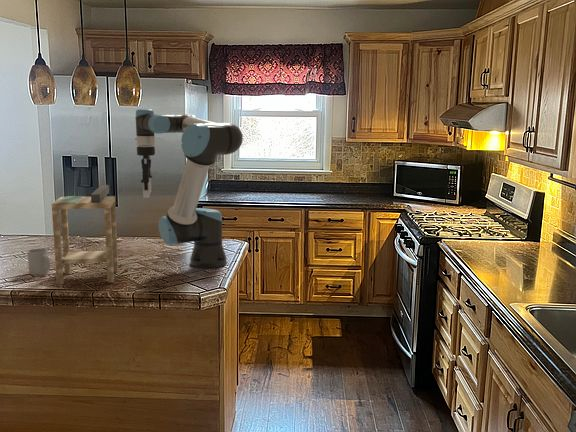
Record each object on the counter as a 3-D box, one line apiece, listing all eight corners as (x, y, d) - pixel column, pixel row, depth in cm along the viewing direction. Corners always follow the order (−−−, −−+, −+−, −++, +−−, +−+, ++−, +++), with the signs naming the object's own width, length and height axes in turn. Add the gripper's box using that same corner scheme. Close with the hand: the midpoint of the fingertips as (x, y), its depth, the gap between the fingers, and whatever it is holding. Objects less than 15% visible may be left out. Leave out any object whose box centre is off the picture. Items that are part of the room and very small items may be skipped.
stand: (118, 270, 231) (114, 195, 225) (113, 282, 215) (109, 202, 210) (65, 272, 227) (60, 196, 222) (56, 284, 212) (51, 202, 206)
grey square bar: (109, 192, 235) (108, 184, 235) (100, 202, 210) (99, 194, 209) (101, 192, 235) (101, 185, 234) (91, 202, 210) (90, 194, 209)
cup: (40, 269, 231) (39, 247, 230) (57, 272, 227) (56, 250, 225) (24, 273, 225) (23, 251, 223) (42, 277, 220) (40, 254, 219)
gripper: (138, 143, 258) (140, 191, 262) (134, 148, 233) (136, 199, 238) (155, 144, 259) (157, 190, 263) (153, 148, 235) (155, 199, 239)
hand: (147, 195), depth 250 cm, fingers open, 13 cm apart
